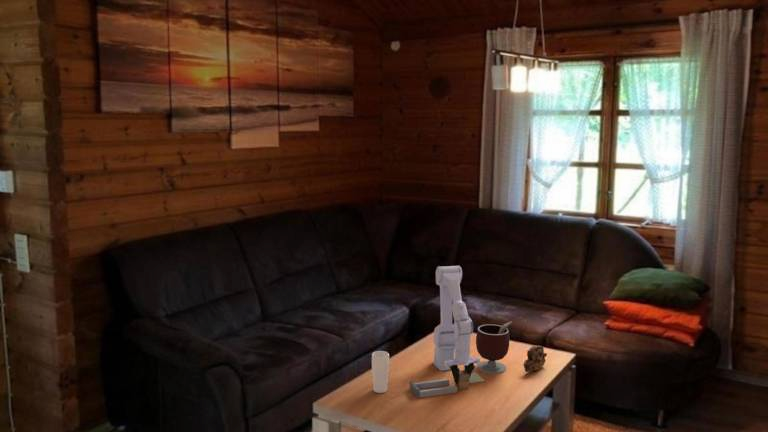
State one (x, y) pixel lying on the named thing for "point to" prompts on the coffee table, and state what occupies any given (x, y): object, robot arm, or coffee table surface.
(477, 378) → the pad
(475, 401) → the coffee table surface
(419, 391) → the channel
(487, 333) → the mate gourd
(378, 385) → the drinking glass
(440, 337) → the robot arm
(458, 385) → the block
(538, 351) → the wooden carving
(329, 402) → the coffee table surface
